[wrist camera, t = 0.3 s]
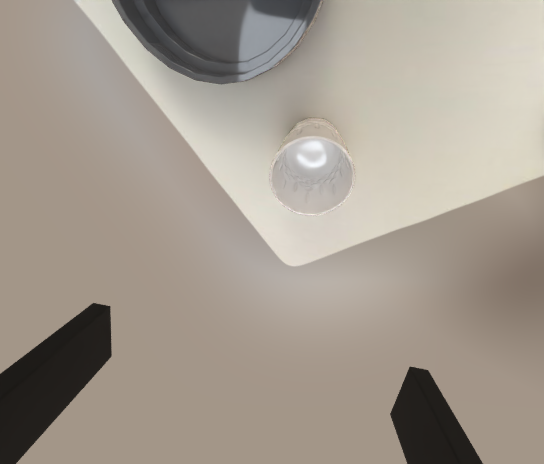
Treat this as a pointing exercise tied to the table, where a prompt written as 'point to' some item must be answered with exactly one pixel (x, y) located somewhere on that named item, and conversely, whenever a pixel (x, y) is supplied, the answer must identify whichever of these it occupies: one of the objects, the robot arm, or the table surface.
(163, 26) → the bowl
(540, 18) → the table surface
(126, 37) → the table surface
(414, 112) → the table surface
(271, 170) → the white cup
